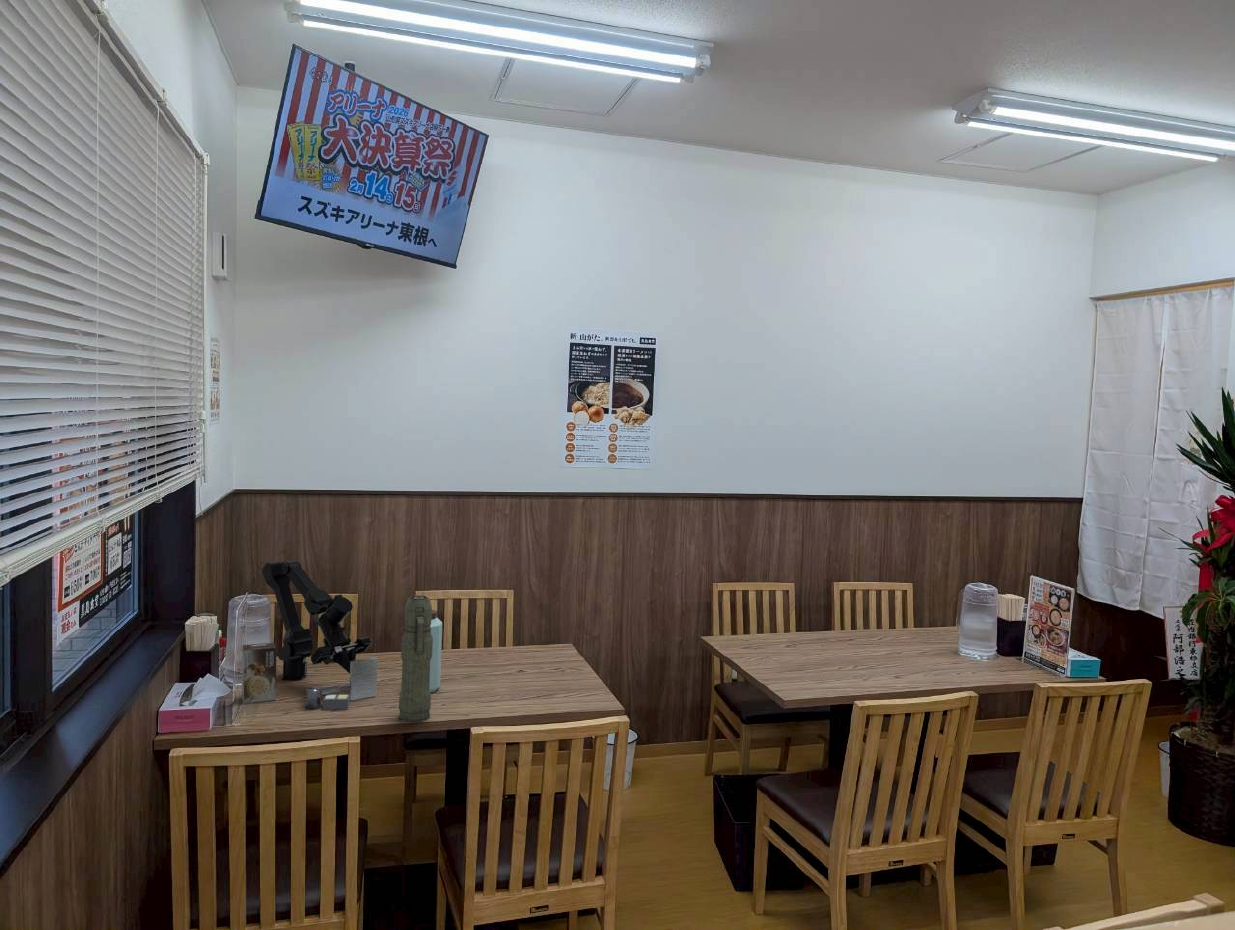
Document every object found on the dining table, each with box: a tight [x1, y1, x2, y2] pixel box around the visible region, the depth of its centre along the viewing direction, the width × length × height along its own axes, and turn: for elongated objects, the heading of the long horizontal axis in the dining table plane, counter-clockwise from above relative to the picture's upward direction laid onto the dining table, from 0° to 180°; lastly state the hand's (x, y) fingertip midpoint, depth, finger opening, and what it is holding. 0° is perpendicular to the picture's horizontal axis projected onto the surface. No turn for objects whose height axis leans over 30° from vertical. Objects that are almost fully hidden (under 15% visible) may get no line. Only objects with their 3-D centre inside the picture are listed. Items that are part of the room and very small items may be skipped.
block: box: [322, 693, 351, 711], centre depth 246 cm, size 7×4×3 cm, turn 99°
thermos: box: [398, 595, 433, 723], centre depth 240 cm, size 9×12×35 cm
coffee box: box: [241, 642, 277, 704], centre depth 249 cm, size 9×6×16 cm
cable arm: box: [305, 656, 378, 710], centre depth 250 cm, size 21×4×12 cm, turn 129°
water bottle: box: [429, 609, 443, 694], centre depth 265 cm, size 10×10×25 cm
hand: (353, 673), depth 253 cm, fingers closed
